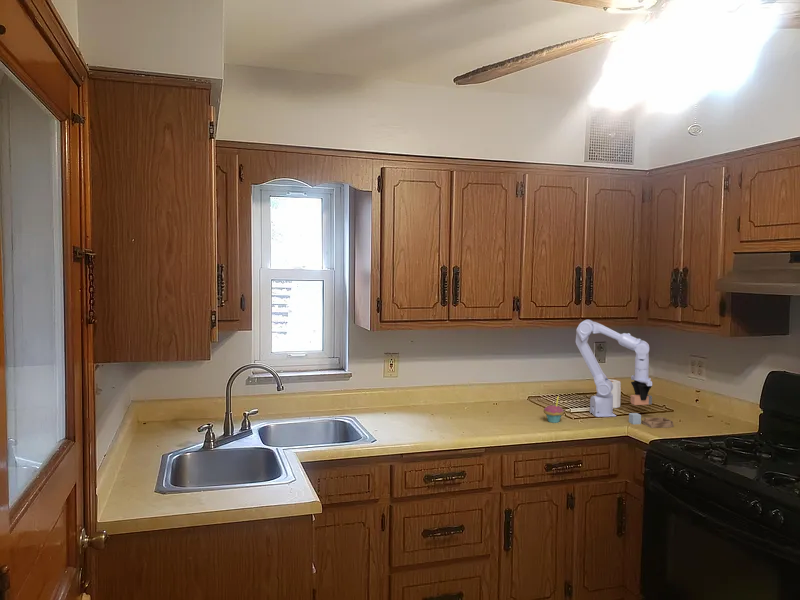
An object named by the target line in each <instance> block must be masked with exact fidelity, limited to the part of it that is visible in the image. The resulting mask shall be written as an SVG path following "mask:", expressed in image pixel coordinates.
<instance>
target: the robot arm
mask: <svg viewBox="0 0 800 600" xmlns="http://www.w3.org/2000/svg"><path fill="white" fill-rule="evenodd" d="M575 331H576V335H575V344H576V347H577V349H578V350H579V352H580V354H581V357H582V358H583V360H584V362H585V364H586V366H587V368H588V370H589V372H590V374H591V376H592V377H593V382H594V385H595V387H596V389H595V390H596V393H595V395H591V396H590V400H589V412H590V413H589V414H591V413H592V414H593V415H592V414H591V415H592V416H594V417H595V418H601V417H602V418H607V417H617V415H616V414H615V413H614V411H613V410H614V408H613V394H612V393H611V391H612V389H613V384H612V382H611V381H610V380H609V379H610V378H608V376H607V375H606V374H605V373H604V371H603V369H602V367H601V366H600V364H599V362H598V360H597V358H596V356H595V354H594V352H593V350H592V348H591V347H590V344H589V339H590V336H591V334H601V335H604V336H606V337H609V338H611V339H613V340H616V341H617V342H618V345H620V346H621V347H623V348H626V349H628V350H630V351H634V352H635V358H634V375H631V376H630V379H631V380H632V381H631V382H630V383H631V386H632V388H633V392H634V395H640V398H641V400H646V398H647V395H649V392H650V390H651V388H652V387H653V381H652V378H651V377H650V376H649V373H650V371H649V370H650V368H649V367H650V354H649V352H650V345H649V343H648V342H647V341H645V340H642V338H637V337H635V336H633V335H631V333H629V332H628V333H626V332H623V333H619V332H618V331H615V330H613V329H612V328H610V327H608V326H606V325H604V324H602V323H600V322H597V321H593V320H592V319H585V320H583V321H581V322H580V323H578V326H577V328H576V330H575Z"/></svg>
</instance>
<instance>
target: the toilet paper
mask: <svg viewBox="0 0 800 600" xmlns="http://www.w3.org/2000/svg"><path fill="white" fill-rule="evenodd" d="M608 379H609V380H610V381H611V382H612V384H613V389H612V391H611V393H612V394H613V409H618V408H620V407H621V394H622V393H621V391H622V390H621V385H622V383H621V380H617V379H613V378H612V379H610V378H608Z"/></svg>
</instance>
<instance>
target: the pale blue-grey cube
mask: <svg viewBox="0 0 800 600" xmlns="http://www.w3.org/2000/svg"><path fill="white" fill-rule="evenodd" d="M641 421H642V415H641V414H640V413H637V412H630V413H628V423H630V424H631V425H642V423H641Z"/></svg>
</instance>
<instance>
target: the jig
mask: <svg viewBox="0 0 800 600" xmlns="http://www.w3.org/2000/svg"><path fill="white" fill-rule="evenodd" d="M641 424H642V425H644V426H647V427H649V428H651V429H659V428H660V429H661V428H663V429H664V428H674V427H675V425H674V421H673V420H670V419H668V418H666V417H662V416H661V417H644V419H643V420H642V419H641Z"/></svg>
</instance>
